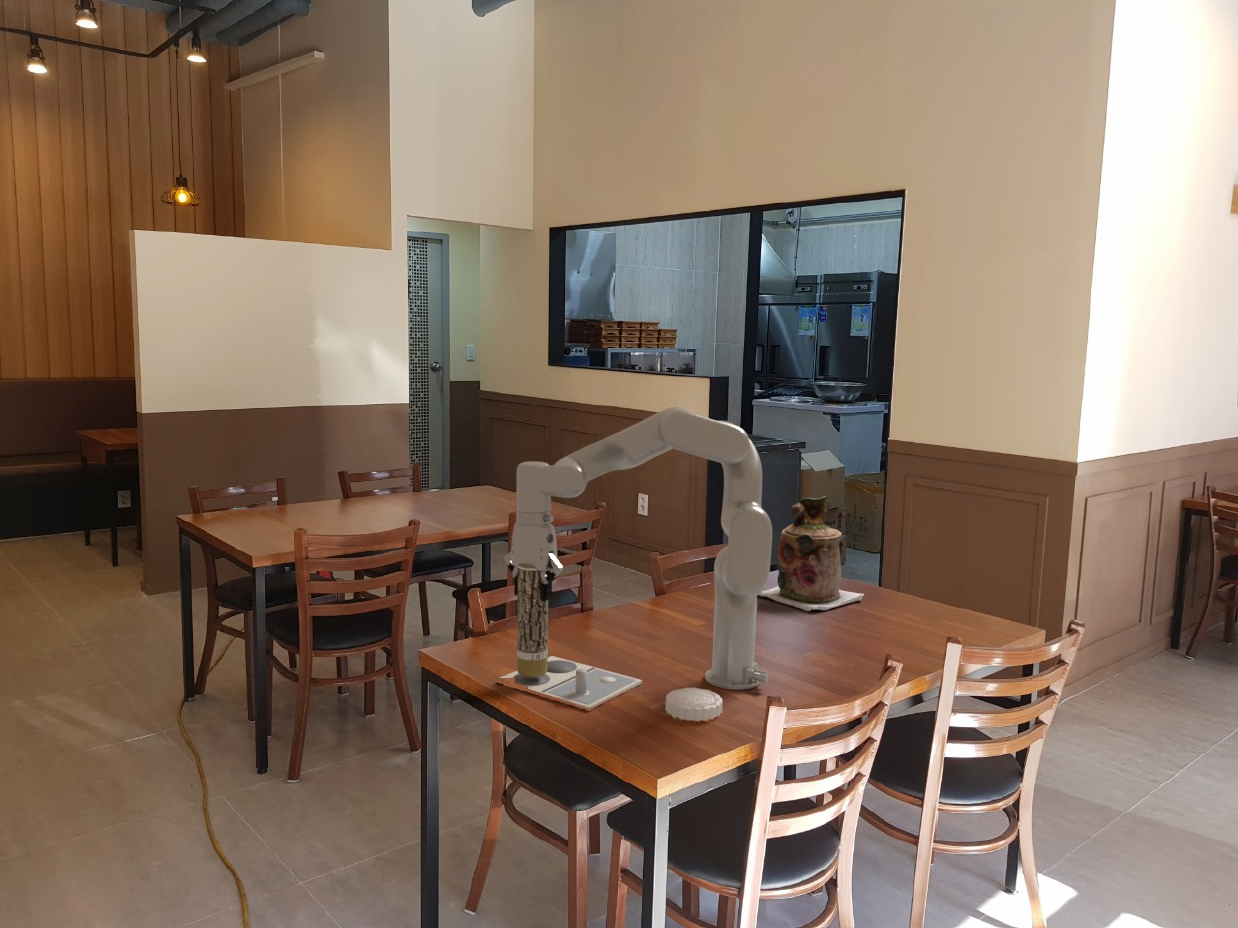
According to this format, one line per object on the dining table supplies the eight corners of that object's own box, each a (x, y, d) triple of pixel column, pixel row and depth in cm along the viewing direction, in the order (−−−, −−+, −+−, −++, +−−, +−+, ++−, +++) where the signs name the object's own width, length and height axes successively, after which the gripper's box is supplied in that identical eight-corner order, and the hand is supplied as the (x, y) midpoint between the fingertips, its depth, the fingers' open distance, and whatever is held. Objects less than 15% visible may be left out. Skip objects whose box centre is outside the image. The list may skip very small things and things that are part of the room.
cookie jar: (802, 583, 309) (807, 485, 304) (866, 601, 290) (872, 497, 286) (750, 595, 293) (754, 492, 289) (814, 615, 274) (820, 505, 270)
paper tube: (511, 674, 214) (511, 565, 211) (527, 665, 220) (528, 559, 217) (536, 680, 211) (537, 569, 208) (553, 671, 217) (554, 563, 214)
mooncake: (654, 714, 201) (655, 697, 200) (682, 697, 211) (683, 681, 210) (705, 728, 194) (706, 711, 194) (732, 709, 204) (732, 693, 204)
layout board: (642, 684, 217) (642, 658, 216) (589, 711, 201) (590, 683, 200) (552, 659, 232) (552, 635, 231) (496, 683, 215) (496, 657, 214)
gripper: (575, 520, 209) (574, 600, 211) (514, 510, 219) (514, 587, 221) (553, 526, 203) (552, 607, 205) (492, 515, 213) (492, 593, 215)
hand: (532, 596), depth 213 cm, fingers closed on paper tube, 6 cm apart
